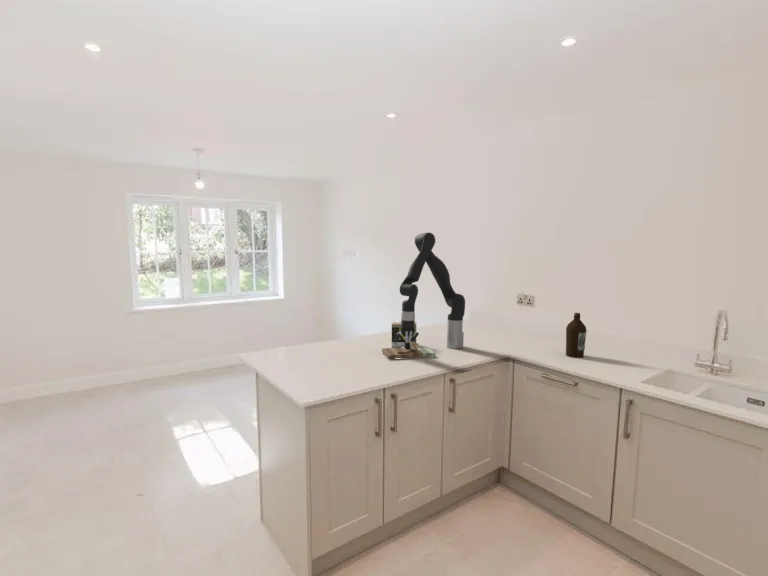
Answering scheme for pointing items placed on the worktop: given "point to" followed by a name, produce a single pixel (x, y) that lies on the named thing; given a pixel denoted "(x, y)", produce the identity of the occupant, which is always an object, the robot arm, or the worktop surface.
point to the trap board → (408, 352)
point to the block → (414, 345)
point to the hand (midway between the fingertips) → (407, 349)
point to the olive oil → (575, 337)
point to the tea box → (395, 338)
